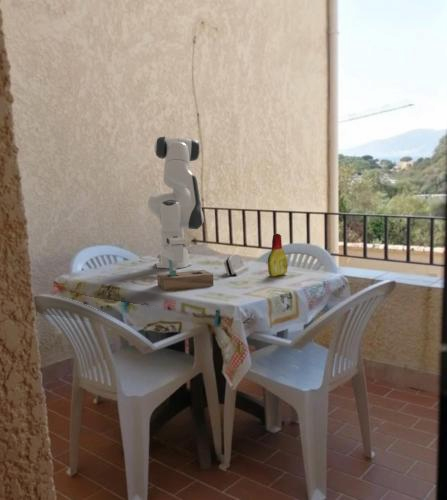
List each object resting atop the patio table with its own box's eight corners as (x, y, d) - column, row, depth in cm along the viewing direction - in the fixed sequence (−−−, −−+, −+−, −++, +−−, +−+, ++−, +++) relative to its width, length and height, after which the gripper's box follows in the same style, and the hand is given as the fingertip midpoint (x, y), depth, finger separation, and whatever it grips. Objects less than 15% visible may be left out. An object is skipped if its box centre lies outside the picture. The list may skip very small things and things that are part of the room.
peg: (169, 284, 226) (168, 257, 224) (175, 283, 227) (174, 256, 225) (171, 285, 223) (170, 258, 221) (177, 285, 224) (176, 257, 223)
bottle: (273, 278, 238) (273, 235, 236) (263, 276, 243) (263, 234, 240) (290, 274, 246) (290, 233, 243) (280, 272, 251) (280, 232, 248)
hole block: (157, 285, 229) (157, 274, 228) (204, 280, 237) (204, 269, 236) (164, 290, 218) (164, 279, 217) (213, 285, 226) (213, 274, 225)
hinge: (237, 276, 245) (230, 256, 245) (228, 279, 247) (221, 259, 246) (248, 270, 260) (241, 251, 260) (240, 272, 262) (233, 254, 262)
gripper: (158, 236, 230) (159, 266, 233) (170, 241, 212) (172, 274, 214) (172, 235, 233) (173, 265, 235) (185, 240, 214) (186, 272, 216)
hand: (172, 269), depth 224 cm, fingers open, 3 cm apart
